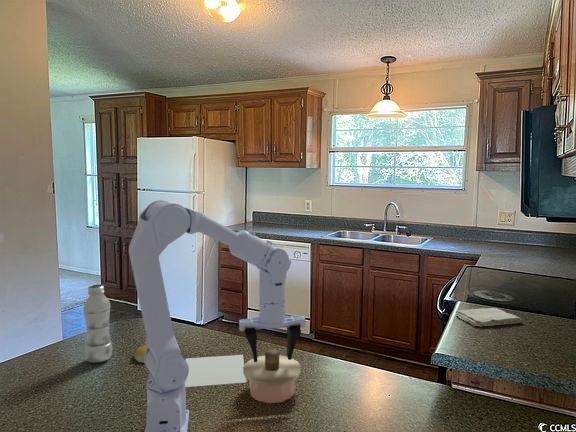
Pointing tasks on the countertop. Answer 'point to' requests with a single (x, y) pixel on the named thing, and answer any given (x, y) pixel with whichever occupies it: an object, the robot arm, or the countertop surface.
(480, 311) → the washcloth
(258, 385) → the bowl
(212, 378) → the mat
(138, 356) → the bread roll
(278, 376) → the lid
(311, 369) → the countertop surface
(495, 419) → the countertop surface
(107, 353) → the plastic bottle
